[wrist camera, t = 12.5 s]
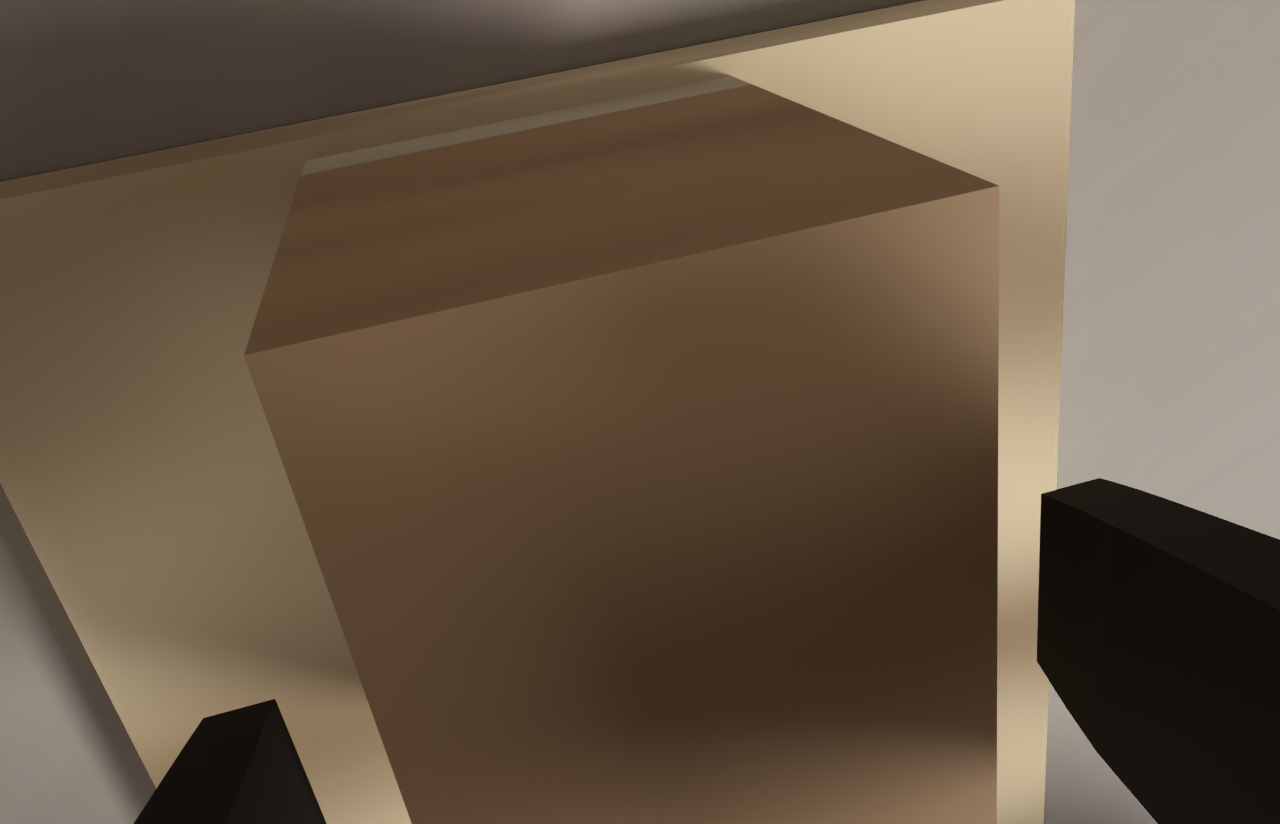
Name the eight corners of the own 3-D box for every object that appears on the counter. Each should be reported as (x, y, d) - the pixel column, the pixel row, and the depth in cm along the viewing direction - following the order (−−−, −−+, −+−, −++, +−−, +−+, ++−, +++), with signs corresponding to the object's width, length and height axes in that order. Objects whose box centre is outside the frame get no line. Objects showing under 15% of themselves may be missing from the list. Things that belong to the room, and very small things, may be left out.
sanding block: (789, 611, 16) (996, 954, 11) (467, 700, 15) (516, 1113, 10) (730, 76, 12) (999, 185, 7) (304, 160, 12) (243, 355, 6)
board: (1007, 884, 22) (1040, 934, 21) (348, 1097, 20) (347, 1165, 19) (1022, -19, 14) (1077, -14, 13) (-86, 198, 12) (-133, 226, 11)
